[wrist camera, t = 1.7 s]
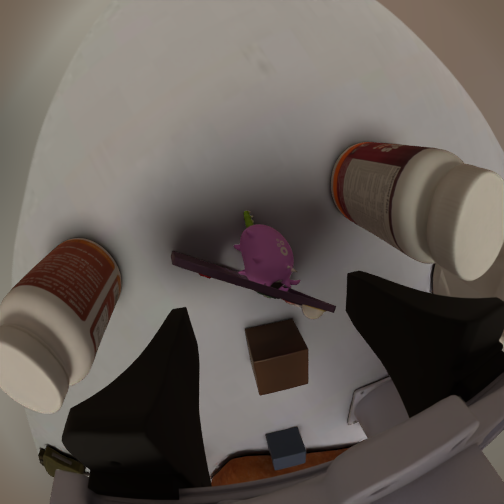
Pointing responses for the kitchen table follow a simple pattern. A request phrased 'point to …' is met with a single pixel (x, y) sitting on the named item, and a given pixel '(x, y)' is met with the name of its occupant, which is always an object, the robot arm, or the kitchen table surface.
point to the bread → (265, 467)
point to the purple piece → (260, 268)
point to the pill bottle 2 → (423, 204)
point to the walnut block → (277, 356)
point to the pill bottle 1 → (56, 323)
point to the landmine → (59, 462)
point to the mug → (472, 283)
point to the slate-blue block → (286, 448)
